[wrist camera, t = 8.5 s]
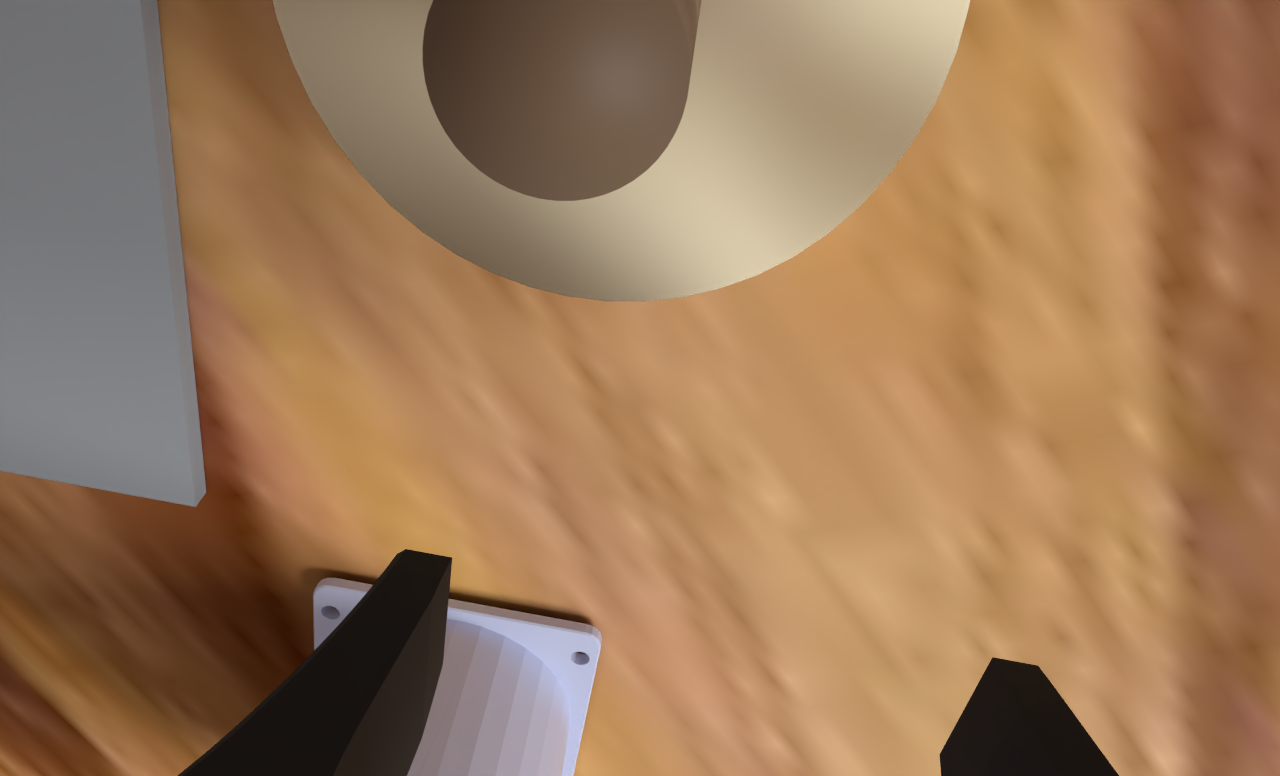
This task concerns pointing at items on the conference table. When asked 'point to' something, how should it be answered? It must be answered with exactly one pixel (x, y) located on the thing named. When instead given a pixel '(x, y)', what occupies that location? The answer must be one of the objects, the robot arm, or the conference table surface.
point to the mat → (92, 255)
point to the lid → (623, 125)
